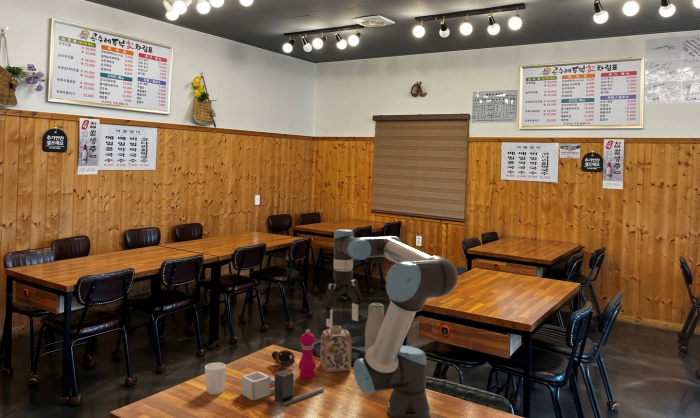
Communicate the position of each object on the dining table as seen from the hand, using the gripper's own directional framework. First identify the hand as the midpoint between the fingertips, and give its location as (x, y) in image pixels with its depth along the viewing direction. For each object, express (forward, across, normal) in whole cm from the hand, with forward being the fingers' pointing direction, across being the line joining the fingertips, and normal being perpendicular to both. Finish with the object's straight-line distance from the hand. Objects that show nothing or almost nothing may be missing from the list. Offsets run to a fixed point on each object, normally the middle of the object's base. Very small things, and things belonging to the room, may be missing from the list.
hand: (342, 323), depth 203 cm
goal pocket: (+27, +27, -19) cm, 42 cm away
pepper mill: (+27, +1, -20) cm, 34 cm away
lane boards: (+27, +18, -19) cm, 37 cm away
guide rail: (+27, +16, -4) cm, 31 cm away
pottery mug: (+27, +2, -36) cm, 45 cm away
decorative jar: (+27, -15, -20) cm, 37 cm away
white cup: (+27, +37, -32) cm, 56 cm away
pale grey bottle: (+27, -30, -10) cm, 42 cm away
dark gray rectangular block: (+27, +22, -13) cm, 37 cm away
